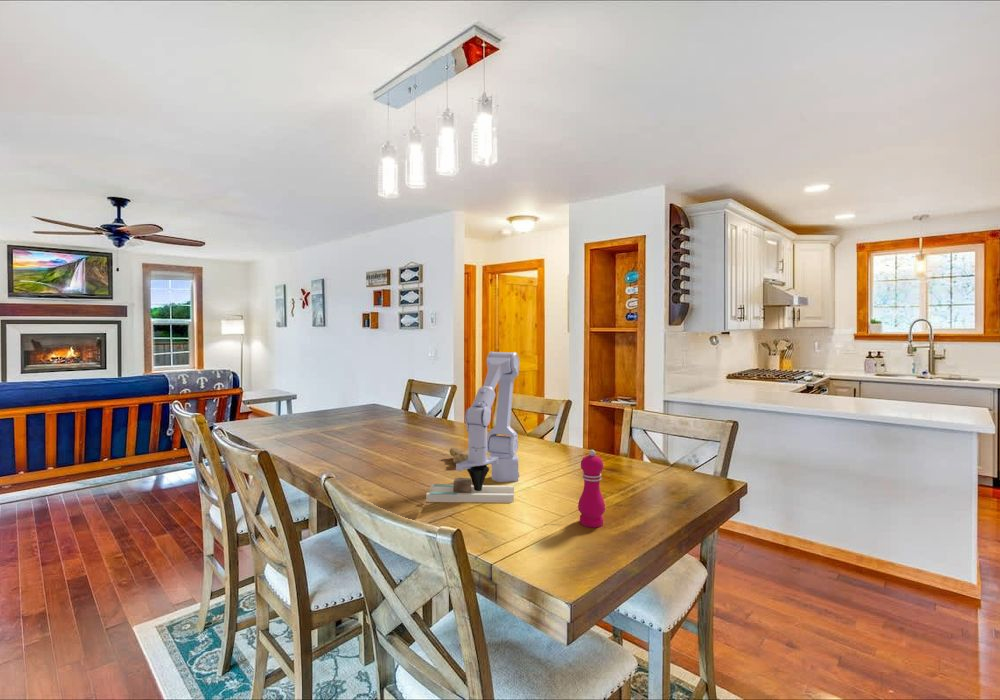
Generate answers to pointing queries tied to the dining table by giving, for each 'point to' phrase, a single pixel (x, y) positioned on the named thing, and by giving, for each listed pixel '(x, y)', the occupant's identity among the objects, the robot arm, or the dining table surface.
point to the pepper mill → (591, 492)
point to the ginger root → (459, 455)
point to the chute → (471, 494)
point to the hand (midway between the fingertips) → (477, 490)
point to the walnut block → (462, 485)
